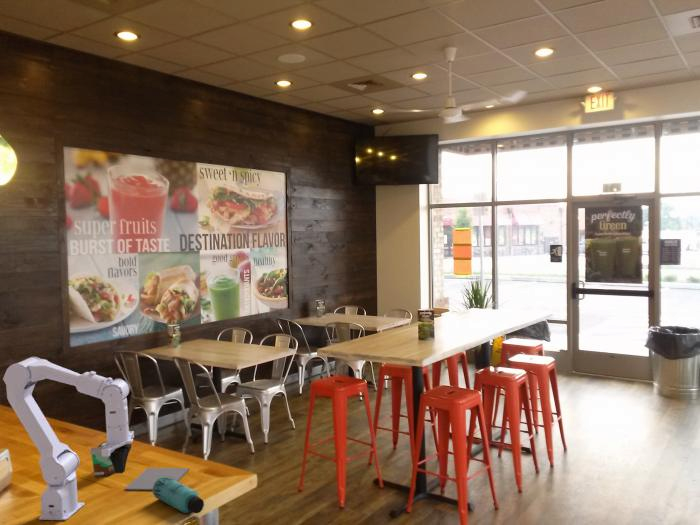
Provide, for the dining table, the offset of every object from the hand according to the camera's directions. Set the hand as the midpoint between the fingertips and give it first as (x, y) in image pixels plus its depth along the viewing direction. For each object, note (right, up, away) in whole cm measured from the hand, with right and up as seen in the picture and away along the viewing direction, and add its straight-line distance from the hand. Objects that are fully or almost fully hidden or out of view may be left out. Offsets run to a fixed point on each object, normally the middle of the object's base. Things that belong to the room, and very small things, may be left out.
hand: (120, 472), depth 166 cm
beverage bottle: (+8, -6, +7) cm, 13 cm away
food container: (-13, -10, +27) cm, 31 cm away
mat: (+4, -9, +20) cm, 22 cm away
